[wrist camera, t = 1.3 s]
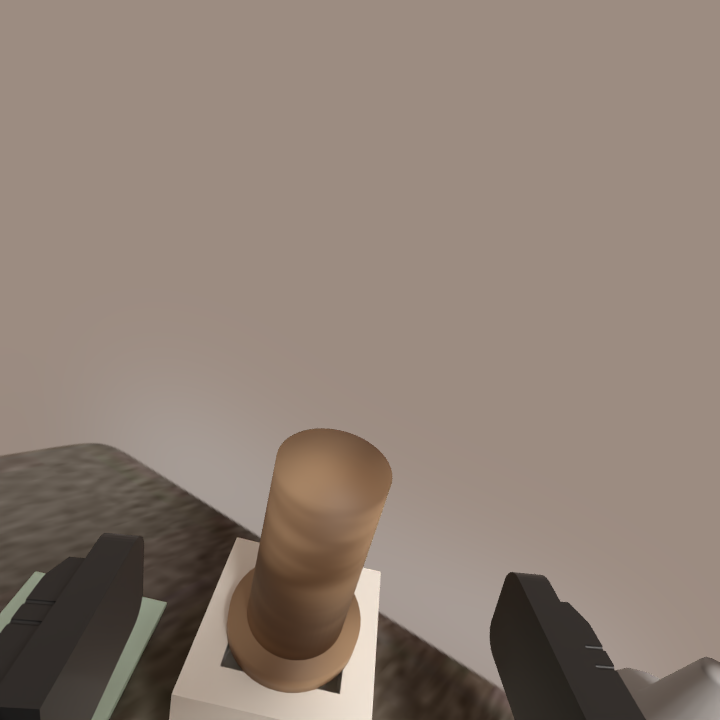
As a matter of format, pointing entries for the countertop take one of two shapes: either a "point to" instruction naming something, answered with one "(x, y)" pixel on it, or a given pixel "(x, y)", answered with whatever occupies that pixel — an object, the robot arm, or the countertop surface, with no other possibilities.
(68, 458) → the countertop surface
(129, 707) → the countertop surface
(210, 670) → the white socket block
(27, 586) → the mat
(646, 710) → the squeeze bottle
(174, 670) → the countertop surface
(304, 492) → the flanged wooden peg
